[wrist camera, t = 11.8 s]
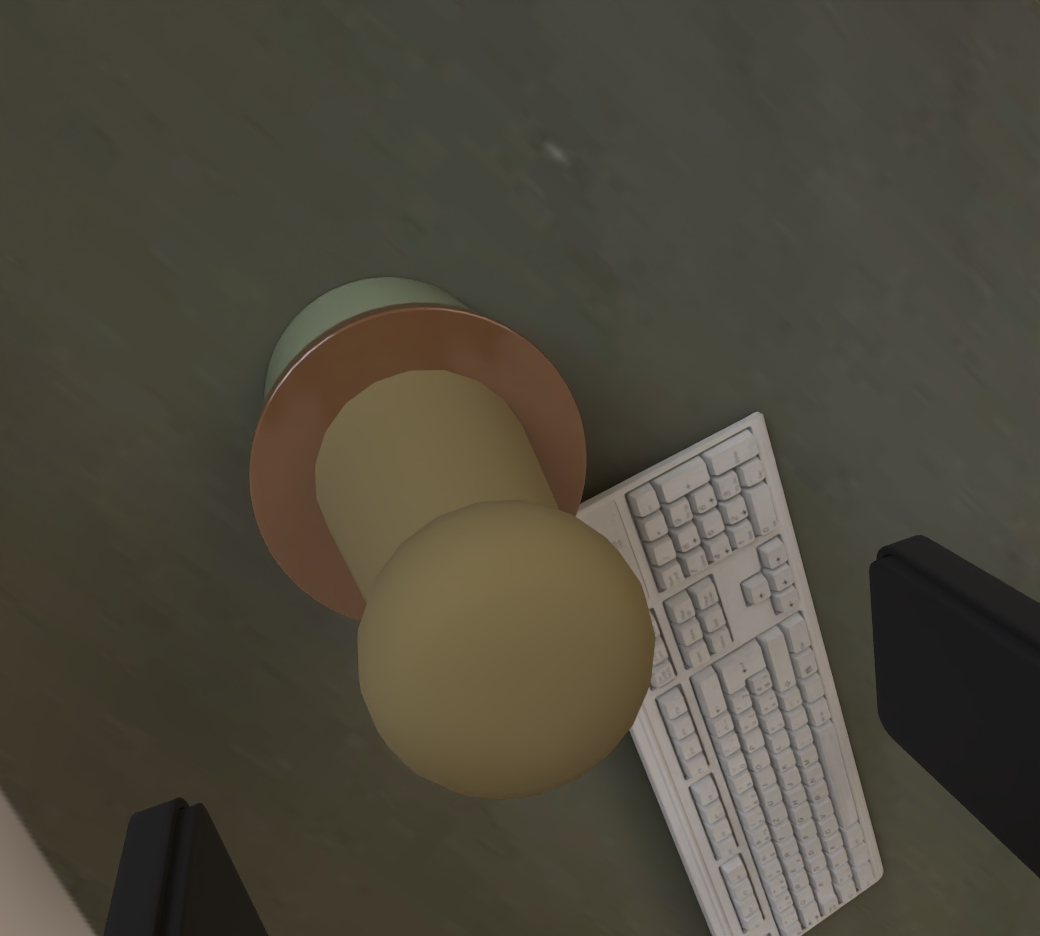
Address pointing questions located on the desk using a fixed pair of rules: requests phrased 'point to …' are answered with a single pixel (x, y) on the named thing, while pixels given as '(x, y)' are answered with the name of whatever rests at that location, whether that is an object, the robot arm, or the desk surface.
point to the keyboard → (740, 690)
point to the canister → (358, 364)
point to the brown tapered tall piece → (478, 592)
